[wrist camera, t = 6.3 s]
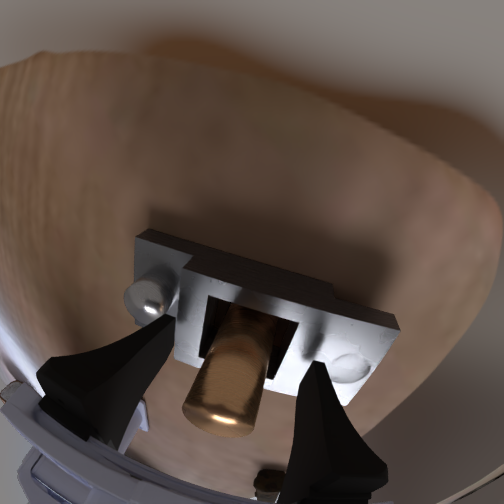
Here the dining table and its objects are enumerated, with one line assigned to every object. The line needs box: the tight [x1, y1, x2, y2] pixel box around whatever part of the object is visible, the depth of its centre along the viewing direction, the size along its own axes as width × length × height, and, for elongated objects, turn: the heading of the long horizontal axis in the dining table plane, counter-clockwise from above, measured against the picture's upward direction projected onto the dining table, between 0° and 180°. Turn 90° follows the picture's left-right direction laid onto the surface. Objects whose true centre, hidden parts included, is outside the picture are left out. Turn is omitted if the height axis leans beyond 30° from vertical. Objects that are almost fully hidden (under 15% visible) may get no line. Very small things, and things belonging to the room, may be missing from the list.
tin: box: [0, 380, 23, 404], centre depth 35 cm, size 15×3×8 cm, turn 107°
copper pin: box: [182, 303, 278, 438], centre depth 13 cm, size 3×3×8 cm
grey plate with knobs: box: [124, 229, 400, 406], centre depth 15 cm, size 15×7×3 cm, turn 77°
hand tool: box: [253, 469, 286, 503], centre depth 28 cm, size 19×4×5 cm, turn 177°
